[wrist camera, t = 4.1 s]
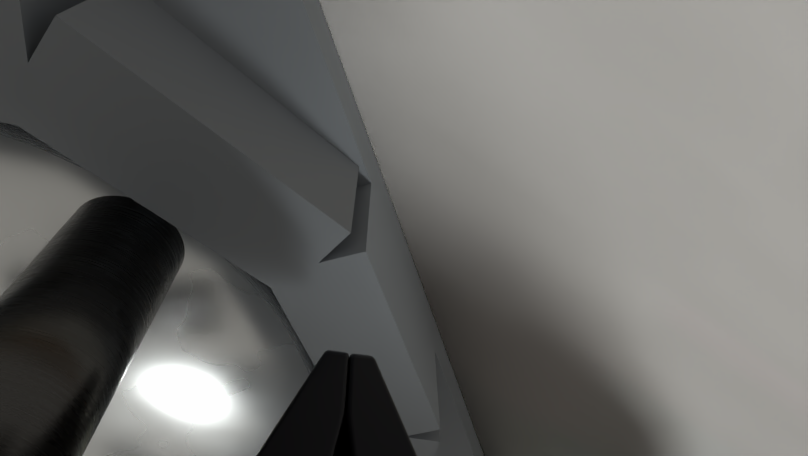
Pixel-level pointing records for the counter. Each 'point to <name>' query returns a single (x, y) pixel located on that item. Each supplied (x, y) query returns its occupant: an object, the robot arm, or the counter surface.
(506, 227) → the counter surface
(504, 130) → the counter surface
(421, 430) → the grey round platform
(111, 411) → the dial
